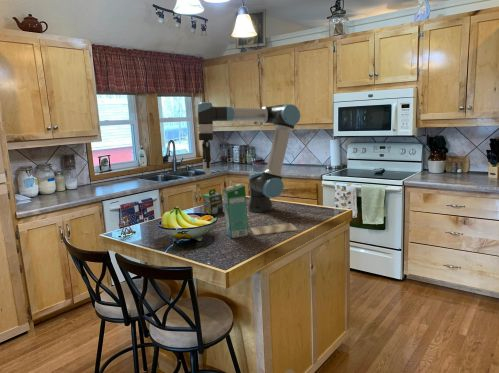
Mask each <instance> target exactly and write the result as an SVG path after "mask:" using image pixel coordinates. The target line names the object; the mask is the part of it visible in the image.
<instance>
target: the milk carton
mask: <svg viewBox="0 0 499 373" xmlns="http://www.w3.org/2000/svg"><path fill="white" fill-rule="evenodd" d="M222 203H223V212H224V224H225V225H224V227H225V234H226V235H227V236H228V237H229V238H230V239H236V238H241V237H247V236H249V227H248V225H249V224H248V212H247V211H248V207H247V197H246V186H245V185H244V184H241V183H237V184H234V185H229V186H226V187H225V188H223V189H222Z"/></svg>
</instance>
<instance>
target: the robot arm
mask: <svg viewBox="0 0 499 373" xmlns="http://www.w3.org/2000/svg"><path fill="white" fill-rule="evenodd" d="M300 120H301V112H300V110H299V108H298V107H297V106H296V105H295V104H289V103H286V104H277V105H272V106H271V105H270V106H262V107H261V108H255V107H254V108H253V107H251V108H249V107H232V106H213V103H212V102H199V103H198V104H197V122H198V124H197V125H198V126H196V127H197V129H198V141H202V142H201V143H202V144H201V149H202V171H203V172H205V175H212V171H211V168H212V167H211V166H212V164H211V161H212V159H211V158H212V157H211V143H210V142H209V141H213V140H214V134H213V132H214V126H213V125H214V122H261V123H262V124H271V125H273V126H274V129H275V131H274V134H273V140H272V143H271V148H270V151H269V155H268V160H267V166H266V168H265V170H263V171H262V172H254V173H250V174H249V175H248V183H249V184H248V186H249V201H248V202H249V203H248V206H247V211H248V212H250V213H267V212H271V211H273V207H274V206H273V204H272V201H271V198H272V199H273V198H274V199H275V198H277V197H279V196H281V195H282V193H283V190H284V187H285V186H284V182H283V174H282V169H283V165H284V160H285V156H286V152H287V149H288V148H287V147H288V144H289V140H290V134H291V132H293V131H294V128H295V125H296V124H297V123H299V122H300Z"/></svg>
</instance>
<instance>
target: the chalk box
mask: <svg viewBox="0 0 499 373" xmlns="http://www.w3.org/2000/svg"><path fill="white" fill-rule="evenodd" d="M202 205H203V206H202V207H203V213H204V212H205V213H204V214H207V213H208V214H207V215H210V214H211V216H212V215H217V214H220V213H223V212H224V203H223V193H218V192H216V188H212V189H209V190H208V193H205V194H203V195H202Z"/></svg>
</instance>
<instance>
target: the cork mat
mask: <svg viewBox="0 0 499 373" xmlns="http://www.w3.org/2000/svg"><path fill="white" fill-rule="evenodd" d="M296 231H297V232H298V231H299V230H298V228H297V227H296V226H295V225H293V224H292V223H291V222H290V223H281V224H280V223H279V224H271V225H263V226H255V227H250V232H252V234H253V236H254V237H256V236H265V235H274V234H280V233H281V234H282V232H283V233H289V232H296Z"/></svg>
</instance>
